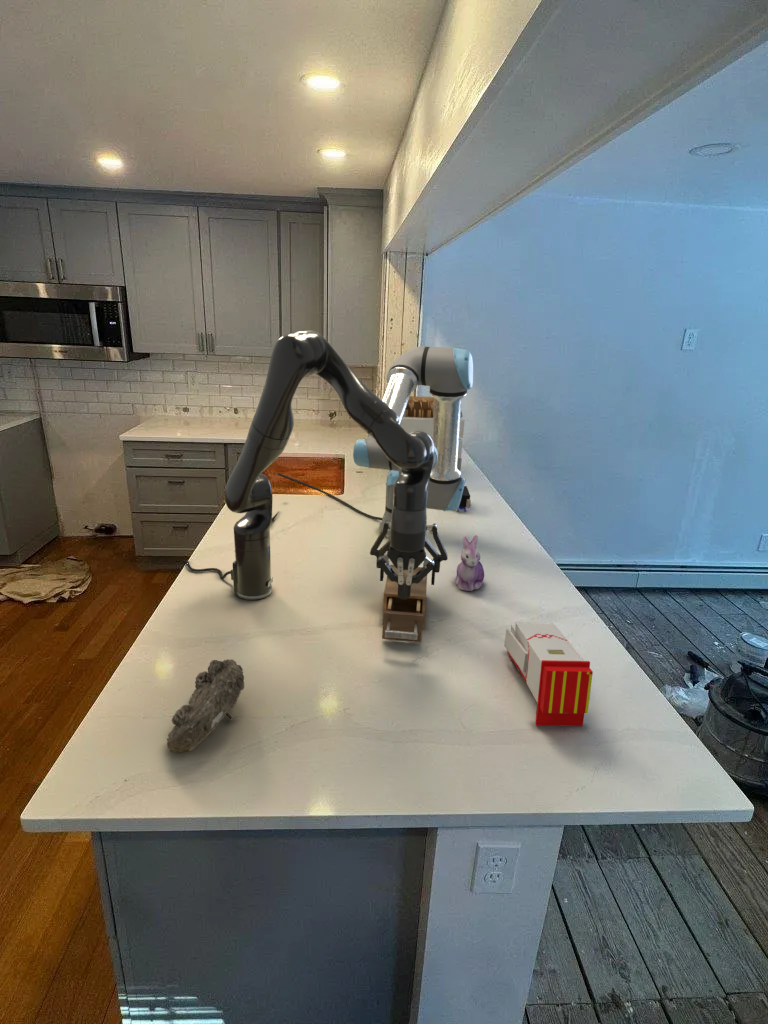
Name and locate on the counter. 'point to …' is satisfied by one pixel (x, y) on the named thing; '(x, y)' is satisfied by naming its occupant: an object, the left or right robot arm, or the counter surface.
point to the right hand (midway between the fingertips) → (407, 580)
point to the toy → (551, 672)
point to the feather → (274, 517)
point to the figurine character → (465, 499)
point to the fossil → (206, 705)
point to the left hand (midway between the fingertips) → (403, 597)
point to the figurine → (470, 566)
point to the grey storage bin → (426, 420)
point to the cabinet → (416, 593)
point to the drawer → (402, 620)
